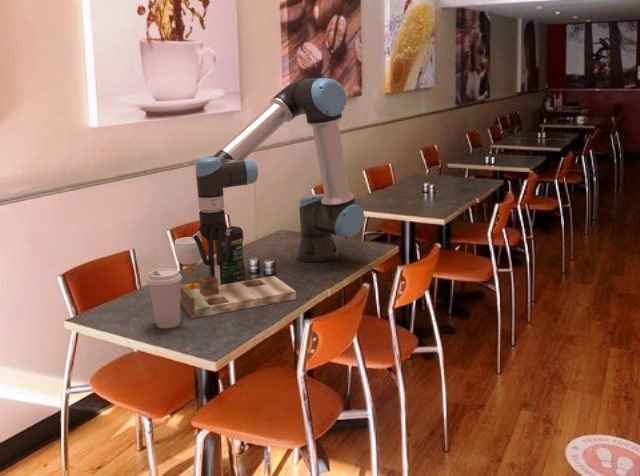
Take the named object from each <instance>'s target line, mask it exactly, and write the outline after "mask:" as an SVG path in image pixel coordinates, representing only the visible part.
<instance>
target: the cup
mask: <svg viewBox="0 0 640 476" xmlns="http://www.w3.org/2000/svg"><path fill="white" fill-rule="evenodd" d="M201 242H202V243H203V240H202V239H201ZM174 250H175V255H176V257H177V260H178V262H179V263H180V264H181V265H183V266H184V267H186V268H188V269H189V271H188V272H189V281H190V283H187V284H182V285H183V286H184V287H185V288H186V289H187V290H193V289H199V288H200V285H199V282H198V283H197V282H194V277H193V267H195V266H197V265H198V264H199V262H201V260H202V259H201V256H200V253H199V250H198V247H197V244H196V241H195V240H194V239H193V238H192V236H187V237H186V236H185V237H181V238H177V239H176V240H174Z"/></svg>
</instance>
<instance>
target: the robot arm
mask: <svg viewBox="0 0 640 476" xmlns="http://www.w3.org/2000/svg"><path fill="white" fill-rule="evenodd" d="M346 105H347V94H346V90H345V89H344V87H343V85H342V84H341V83H340V82H338V81H337V80H335V79H333V78H326V77H317V78H316V77H315V78H312V77H311V78H299V79H297V80H295V81H292V82H291V83H289V84H288V85H287V86H285V87H283V88H282V90H280V91H279V92H277V93H276V94H275V96H273V97H272V98H271V99H270V101H269V105H268V106H267V107H266V108H264V109H263V110H262V111H261V112H260V113H259V114H258V115H257V116H256V117H254V119H252V120H251V121H250V122H249V124H247V125H246V126H245V127H244V128H243V129H241V130H240V131H239V132H238V133H237V134H236V135H235V136H234V137H233V138H232V139H231V140H230V141H228V142H227V143H226V144H225V145H224V146H223V147H222V148H221V149H220V150H218V151H217V152H216V153H215V154H214V155H213V156H211V155H210V156H206V157H200V158H198V159H197V160H196V162H195V177H196V188H197V189H196V190H197V202H198V210H199V212H198V215H199V228H198V231H197V232H196V233H193V234H192V235H191V237H192V238H193V239H194V240H195V241H196V244H197V247H198V250H199V253H200V256H201V259H200V260H201V261H202V263H203V264H204V265H205V266H208V268H209V269H208V270H209V275H210V276H214V277H215V278H216V279H218V287H219V286H221V281H220V275H222V274H223V264H224V263H225V262H228V259H229V253H230V247H231V241H232V237H233V236H234V234H235V232H234V231H233V230H232V229H228V225H227V223H226V214H225V213H226V212H225V209H224V208H225V202H224V201H225V200H224V198H225V197H224V189H227V188H228V189H229V188H232V187H234V188H235V187H241V186H248V185H251V184H254V183H255V182H256V181H257V180H258V178H259V168H258V166H257V163H256V162H255V161H254V160H253V159H247V158H248V157H249V156H250V155H251V154H252V153H253V152H254V151H256V150H257V149H258V148H259V147H260V145H262V144H263V143H264V142H265V141H266V140H267V139H268V138H270V137H271V135H273V134H274V133H275V132H276V131H277V130H278V129H279V128H280V127H281V126H283V124H285V123H289V122H291V121H292V120H294V118H296V117H298V116H300V115H305V117H306V122H307V125H309V126H311V128H312V131H313V137H314V143H315V148H316V154H317V160H318V165H319V170H320V171H319V172H320V178H321V184H322V189H323V193H319V194H311V195H305V196H302V197H300V199H299V204H298V205H299V207H298V209H299V224H300V227H299V228H300V239H299V243H298V246H297V249H296V258H297V260H299V261H300V262H306V263H325V262H330V261H334V260H336V259H337V258H338V257H339V249H338V247H337V245H336V241H335V239H334V236H333V235H335V236H337V237H340V238H341V237H342V238H343V237H344V238H351V237H354V236H355V235H356V234H357V233H359V232H360V230H361V228H362V226H364V225H363V224H364V221H365V213H364V209H363V208H362V207H361V206H360V205H359V204H356V199H355V195H354V193H352V192H351V191H350V189H349V182H348V176H347V175H348V174H347V171H346V163H345V162H346V161H345V157H344V151H343V144H342V137H341V131H340V126H339V125H340V124H339V123H340V121H341V120H342V119H343V116H342V112H344V110H345V108H346V107H345V106H346ZM225 232H226V238H225V244H224V250H223V256H222V245H221V243H222V239H221V238H222V237H223V235H224V233H225ZM202 237H203V238H204V239H205V240H206V241H205V242H206V246H207V247H206V248H207V253H206V251H205V247H204V245H203V241H202V242H201V240H202ZM214 240H215V243H214ZM214 246H215V251H214ZM215 257H216V258H215ZM215 259H217V262H216V263H215Z"/></svg>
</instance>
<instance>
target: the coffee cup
mask: <svg viewBox="0 0 640 476" xmlns="http://www.w3.org/2000/svg"><path fill="white" fill-rule="evenodd" d="M182 279H183V277H182V274H181V273H180V272H179V270H178V269H177V268H169V267H168V268H158V269H155V270H154V269H153V270H152V271H149V273H148V276H147V278H146V284H148V288H149V293H150V299H151V304H152V309H153V313H154V314H153V315H154V320H155V324H156V328H159V329H172V328H176V327H178V326H180V325H181V304H180V283H181V281H182Z"/></svg>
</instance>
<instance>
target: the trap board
mask: <svg viewBox="0 0 640 476" xmlns="http://www.w3.org/2000/svg"><path fill="white" fill-rule="evenodd" d="M183 285H184V284H182V282H180V306H182V308H183V309H184V310H185V311H186V313H187V314H188V315H189V317H190V318H191V319H197V318H201V317H209V316H212V315H213V316H214V315H219V314H225V313H229V312H234V311H240V310H245V309H250V308H251V309H252V308H257V307H261V306H267V305H272V304H276V303H277V304H278V303H284V302H289V301H293V300H297V291H296V290H294V289H293V288H292V287H290V285H288V284H286V283H285V282H283V281H282V280H280V279H279V277H276V276H275V275H272V276H265V277H260V278H255V279H254V278H253V279H246V280H245V281H241V282H235V283H229V284H223V285H221V286H219V287H218V292H219V294H214V295H209V296H203V295H202V294H201V292H200V288H199V289H193V290H187V289H186V288H185V287H184V286H183Z"/></svg>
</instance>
